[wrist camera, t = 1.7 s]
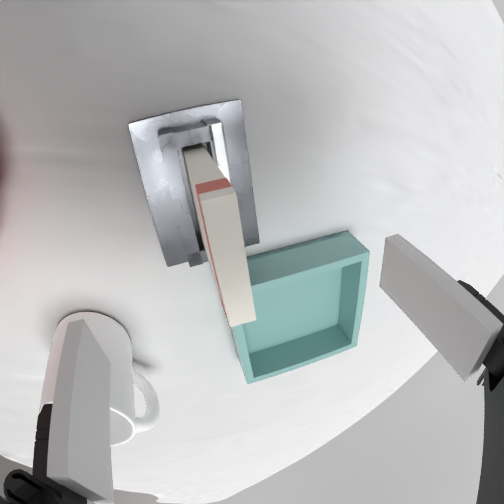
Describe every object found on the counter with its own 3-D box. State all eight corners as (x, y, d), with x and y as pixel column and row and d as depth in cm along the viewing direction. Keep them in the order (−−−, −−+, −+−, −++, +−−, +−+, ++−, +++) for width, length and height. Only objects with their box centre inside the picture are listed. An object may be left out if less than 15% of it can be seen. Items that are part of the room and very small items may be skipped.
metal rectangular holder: (129, 123, 20) (124, 130, 17) (238, 99, 21) (251, 102, 18) (167, 263, 26) (169, 286, 23) (257, 239, 28) (270, 260, 25)
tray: (215, 265, 28) (225, 293, 24) (347, 230, 30) (369, 251, 27) (238, 357, 35) (247, 384, 32) (340, 323, 37) (356, 346, 34)
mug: (176, 349, 32) (191, 434, 23) (133, 386, 33) (140, 463, 25) (77, 293, 25) (59, 385, 17) (43, 341, 27) (27, 425, 18)
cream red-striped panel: (180, 145, 21) (200, 201, 12) (200, 141, 21) (236, 192, 12) (199, 231, 25) (229, 327, 16) (216, 226, 25) (256, 320, 16)
